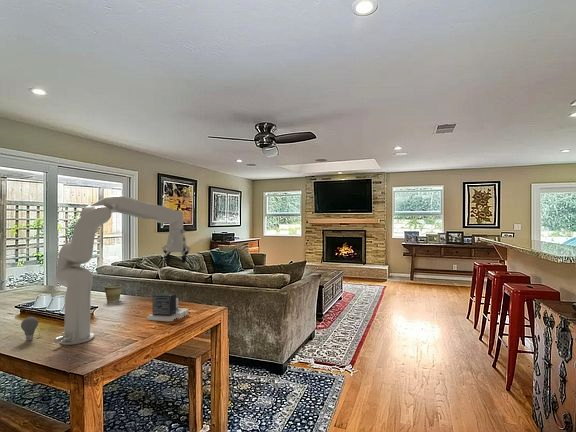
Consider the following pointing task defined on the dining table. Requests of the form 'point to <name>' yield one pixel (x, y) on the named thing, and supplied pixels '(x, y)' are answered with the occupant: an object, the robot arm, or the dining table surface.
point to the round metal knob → (177, 303)
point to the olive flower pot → (113, 293)
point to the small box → (164, 304)
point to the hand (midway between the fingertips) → (176, 262)
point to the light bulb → (29, 327)
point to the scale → (179, 314)
